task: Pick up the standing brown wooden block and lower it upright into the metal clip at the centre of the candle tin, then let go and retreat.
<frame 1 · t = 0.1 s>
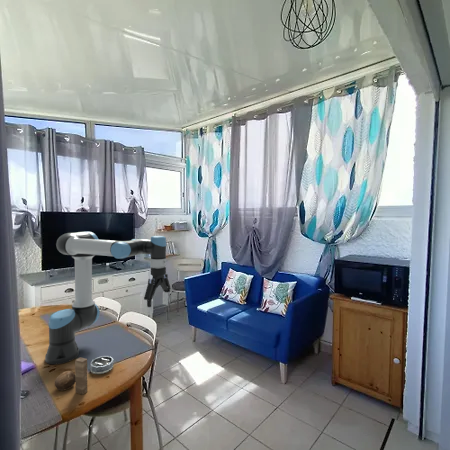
hand: (158, 308, 140), 28 cm above the table, fingers open, 13 cm apart
brown oval lump: (65, 387, 121), on the table
brown wooden block: (81, 391, 118), on the table
tin: (102, 368, 135), on the table
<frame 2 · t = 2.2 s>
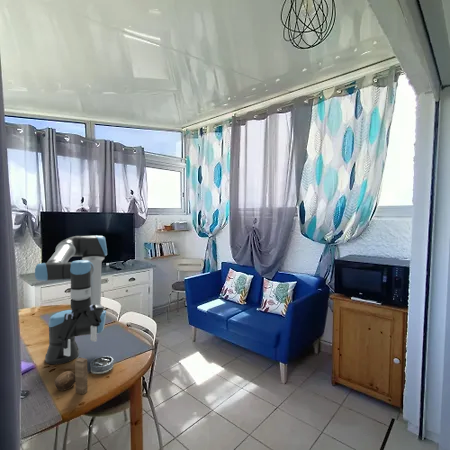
hand: (81, 347, 117), 19 cm above the table, fingers open, 13 cm apart
nothing on the table moved.
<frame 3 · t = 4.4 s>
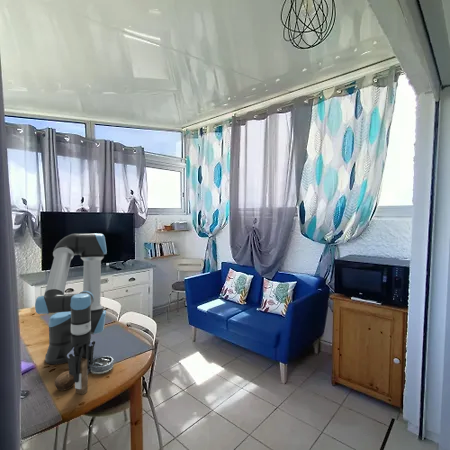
hand: (81, 386, 118), 3 cm above the table, fingers closed on brown wooden block, 2 cm apart
brown wooden block: (81, 391, 118), on the table, touching gripper
everything else where it was.
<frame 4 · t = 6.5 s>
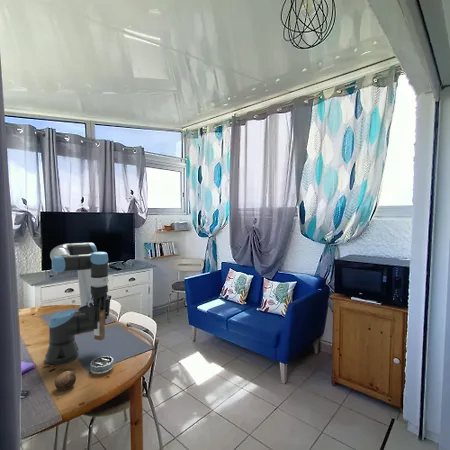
hand: (99, 333, 132), 18 cm above the table, fingers closed on brown wooden block, 2 cm apart
brown wooden block: (99, 338, 133), point 16 cm above the table, touching gripper
everything else where it was.
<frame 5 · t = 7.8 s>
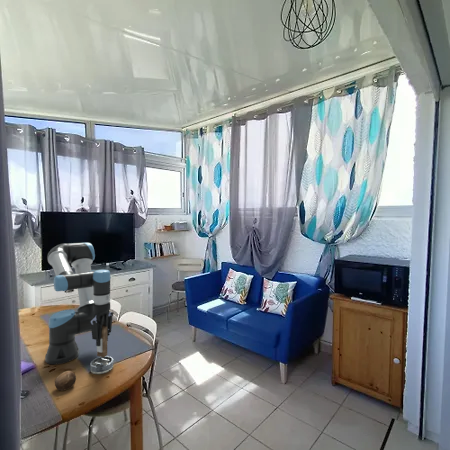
hand: (102, 350, 135), 9 cm above the table, fingers closed on brown wooden block, 2 cm apart
brown wooden block: (102, 355, 135), point 7 cm above the table, touching gripper
everything else where it was.
when the fingers open (5 cm above the table, at t = 8.9 s): brown wooden block drops 1 cm, resting on tin.
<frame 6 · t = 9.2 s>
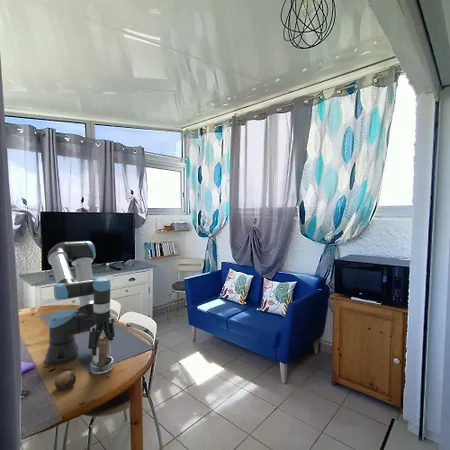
hand: (102, 357, 135), 6 cm above the table, fingers open, 7 cm apart
brown wooden block: (102, 366, 135), point 1 cm above the table, touching tin
everything else where it was.
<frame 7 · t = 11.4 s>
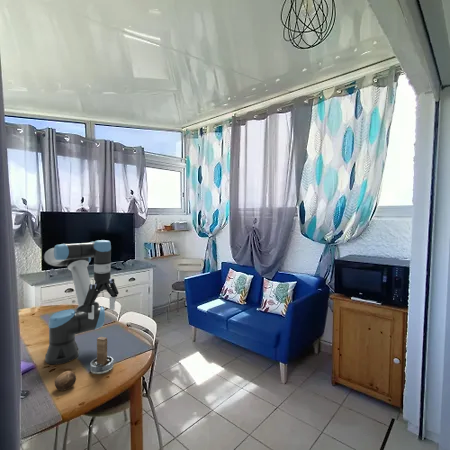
hand: (102, 313, 138), 25 cm above the table, fingers open, 13 cm apart
nothing on the table moved.
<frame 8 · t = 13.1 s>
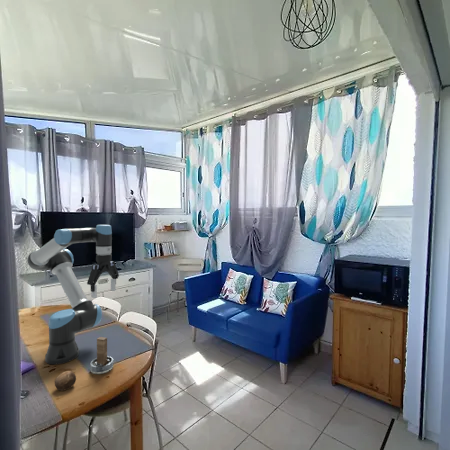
hand: (104, 293, 147), 33 cm above the table, fingers open, 13 cm apart
nothing on the table moved.
at the end: brown wooden block 0.1 cm off-centre on the tin, point 1.0 cm above the tin's base; brown wooden block tilted 0°; the gripper is holding nothing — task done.
